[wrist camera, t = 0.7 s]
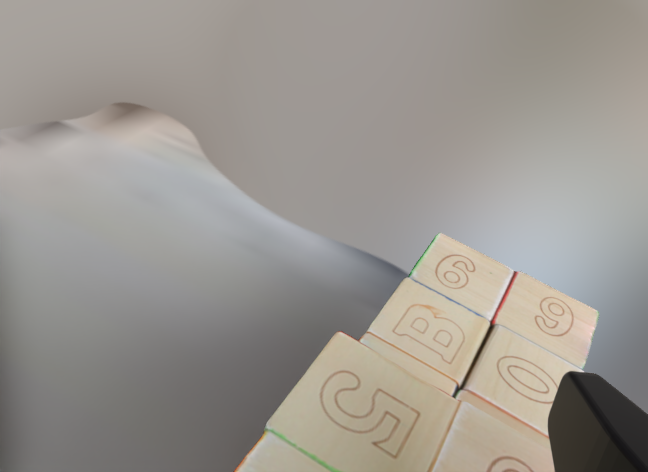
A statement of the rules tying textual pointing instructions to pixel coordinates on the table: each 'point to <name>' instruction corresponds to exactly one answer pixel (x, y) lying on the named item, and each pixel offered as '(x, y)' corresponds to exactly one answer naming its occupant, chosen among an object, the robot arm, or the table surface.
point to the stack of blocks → (436, 377)
